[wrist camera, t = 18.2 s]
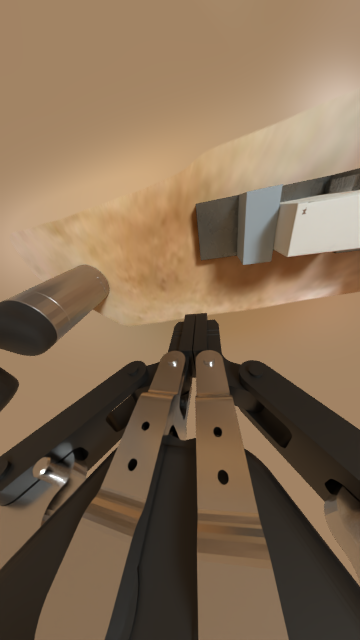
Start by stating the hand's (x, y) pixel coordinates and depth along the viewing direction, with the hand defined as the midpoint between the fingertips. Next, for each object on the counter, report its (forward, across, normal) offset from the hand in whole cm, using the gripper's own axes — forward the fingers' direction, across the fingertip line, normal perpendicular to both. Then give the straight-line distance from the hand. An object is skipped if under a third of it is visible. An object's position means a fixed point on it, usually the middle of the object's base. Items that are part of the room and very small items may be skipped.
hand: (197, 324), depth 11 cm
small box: (+23, -14, -3) cm, 27 cm away
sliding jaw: (+23, -8, -3) cm, 25 cm away
